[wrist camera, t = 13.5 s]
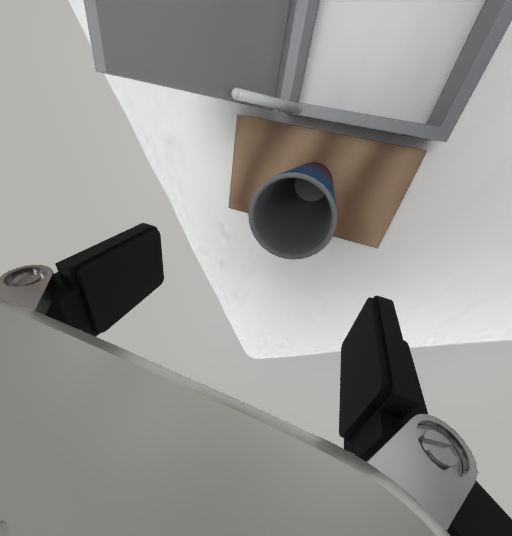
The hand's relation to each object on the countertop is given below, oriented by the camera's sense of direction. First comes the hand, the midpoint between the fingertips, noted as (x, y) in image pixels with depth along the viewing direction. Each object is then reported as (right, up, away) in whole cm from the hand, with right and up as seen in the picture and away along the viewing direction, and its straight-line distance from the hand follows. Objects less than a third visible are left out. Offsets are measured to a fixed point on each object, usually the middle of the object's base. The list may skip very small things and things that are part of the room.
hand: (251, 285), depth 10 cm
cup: (+8, +12, +20) cm, 24 cm away
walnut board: (+8, +12, +21) cm, 25 cm away
